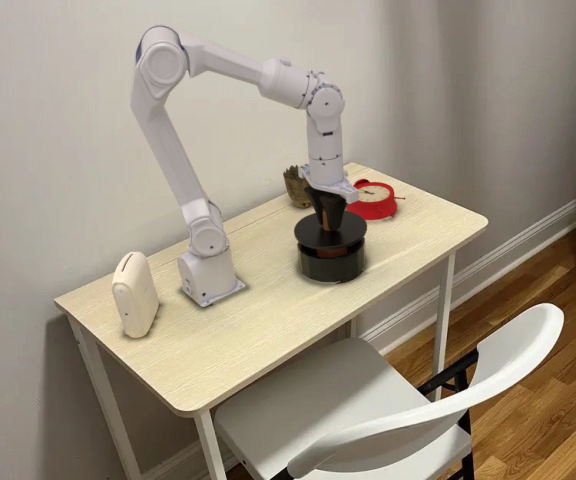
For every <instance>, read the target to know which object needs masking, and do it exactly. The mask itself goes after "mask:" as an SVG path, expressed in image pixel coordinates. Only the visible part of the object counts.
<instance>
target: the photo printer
mask: <svg viewBox="0 0 576 480" xmlns="http://www.w3.org/2000/svg"><path fill="white" fill-rule="evenodd" d="M111 279H112V280H111V286H110V287H111V289H110V290H111V295H112V296H113V300H114V302H115V305H116V309H117V312H118V315H119V318H120V322H121V324H122V327H123V330H124V333H125V335H127V336H128V337H130V338H132V339H140V338H143V337H144V336H146V335H147V334H148V332H149V330H150V328H151V326H152V324H153V322H154V320H155V317H156V315H157V312H158V310H159V305H160V303H159V302H160V301H159V297H158V293H157V290H156V285H155V283H154V279H153V275H152V271H151V268H150V265H149V261H148V259H147V257H146V256H145V255H144V254H143V252H141V251H130V252H128V253H126V254H125V255H124V256H123V257H122V259H121V260H120V261H119V263H118V264H117V267H116V268H115V271H114V273H113V277H112V278H111Z"/></svg>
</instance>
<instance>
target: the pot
mask: <svg viewBox="0 0 576 480" xmlns="http://www.w3.org/2000/svg"><path fill="white" fill-rule="evenodd" d="M296 246H297V255H298V266H299V267H298V268H299V269H300V272H301V274H302V275H304V276H305V277H306V278H308V279H309V280H313V281H315V282H320V283H335V285H341V284H346V283H349V282H351V281H353V280H355V279H357V278H358V277H359V276H361V274H363V272H364V269H365V265H366V237H365V236H364V237H363V238H362V239H361V240H360V241H358V242H357V243H355V244H353V245H350V246H347V247H346V249H347V251H351V252H349V253H347V255H344V256H339V257H334V258H321V257H317V255H313V254H316V253H317V249H313V248H309V247H307V246H304V245H302V244H301V243H299V242H298V241H297V245H296Z"/></svg>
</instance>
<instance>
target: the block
mask: <svg viewBox="0 0 576 480" xmlns="http://www.w3.org/2000/svg"><path fill="white" fill-rule="evenodd" d="M347 251H348V250H347V249H346V247H344V248H340V249H333V250H320V249H317V252H316V256H317V257H321V258H334V257H339V256H344V255H347V254H348V252H347Z"/></svg>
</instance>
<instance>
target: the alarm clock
mask: <svg viewBox="0 0 576 480" xmlns="http://www.w3.org/2000/svg"><path fill="white" fill-rule="evenodd" d="M352 185H353V186H354V187H355V188H356V189H358V194H359V200H358V201H356V202H354V203H351V204H348V203H347V205H346V211H349V212H353V213H356V214H358V215H359V216H361V217H362V218H363V219H364V220H365V221H379V220H383V219H386V218H388V217H391V218H395V216H394V214H395V213H396V212H397V210H398V203H397V202H396V200H405V201H406V197H405V196H404V197H399V196H395V190H394V188H393V187H392V185H390V184H388V183H385V182H381V181H370V180H368V179H367V178H359V179H357V180H356V181H355V182H354V183H353V184H352Z"/></svg>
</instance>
